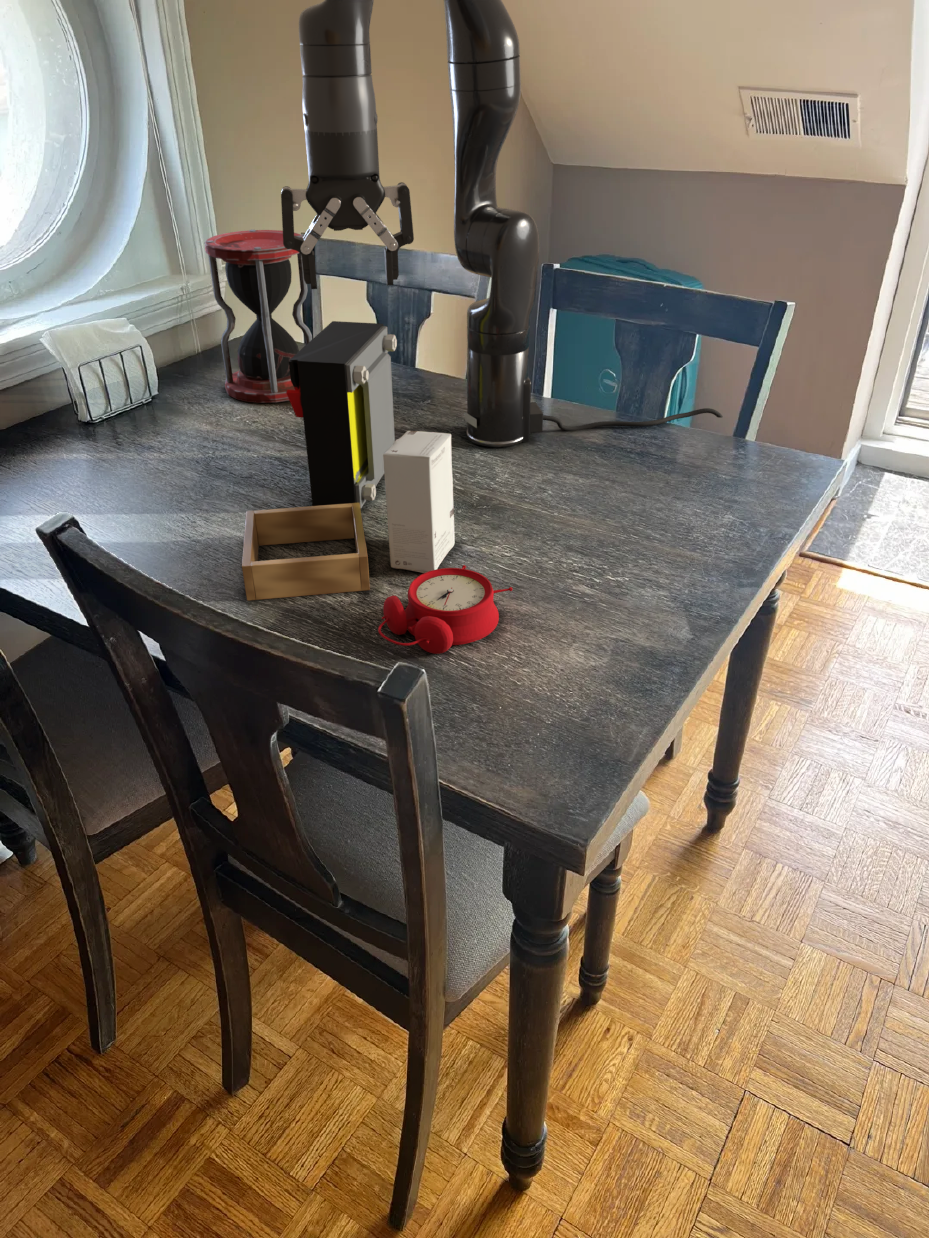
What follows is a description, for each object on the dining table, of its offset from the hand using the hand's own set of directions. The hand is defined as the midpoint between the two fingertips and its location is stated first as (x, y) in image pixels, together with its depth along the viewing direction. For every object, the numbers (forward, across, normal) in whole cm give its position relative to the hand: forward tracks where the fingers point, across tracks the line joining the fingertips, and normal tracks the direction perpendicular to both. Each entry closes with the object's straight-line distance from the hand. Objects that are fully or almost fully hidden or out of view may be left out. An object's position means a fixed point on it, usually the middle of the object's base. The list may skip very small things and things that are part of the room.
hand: (351, 286), depth 107 cm
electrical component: (+30, +1, -13) cm, 33 cm away
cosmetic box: (+30, -6, +10) cm, 32 cm away
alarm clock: (+30, -6, +26) cm, 40 cm away
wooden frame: (+30, +8, +10) cm, 33 cm away
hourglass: (+30, +13, -55) cm, 64 cm away
